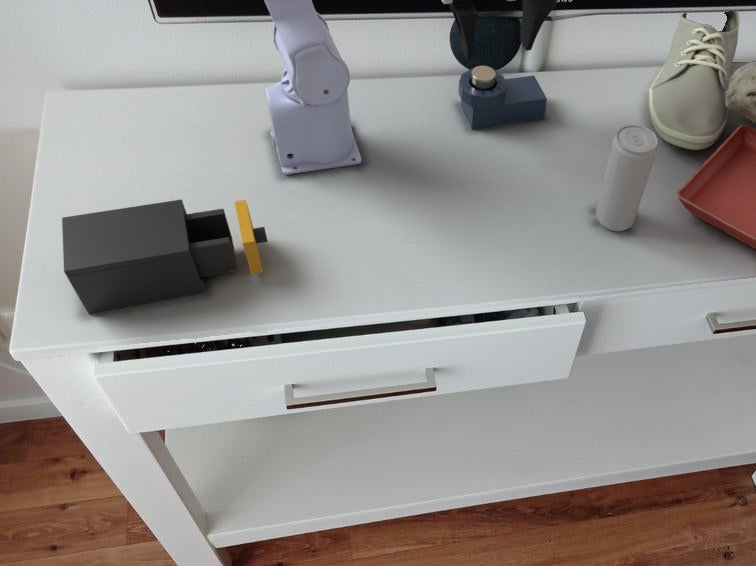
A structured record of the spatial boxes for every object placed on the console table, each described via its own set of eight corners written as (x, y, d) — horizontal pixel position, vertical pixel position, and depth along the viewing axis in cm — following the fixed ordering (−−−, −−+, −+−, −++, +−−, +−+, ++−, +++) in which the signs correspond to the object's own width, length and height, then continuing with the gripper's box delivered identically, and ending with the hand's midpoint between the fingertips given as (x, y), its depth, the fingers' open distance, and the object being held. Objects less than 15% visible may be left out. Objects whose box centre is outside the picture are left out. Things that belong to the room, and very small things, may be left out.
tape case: (197, 242, 85) (181, 199, 80) (205, 292, 82) (189, 250, 76) (85, 261, 82) (61, 217, 77) (88, 314, 79) (63, 271, 73)
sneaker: (631, 149, 101) (648, 94, 94) (667, 27, 117) (684, -27, 110) (713, 172, 100) (736, 119, 93) (738, 47, 116) (759, -7, 109)
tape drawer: (265, 229, 86) (257, 197, 82) (274, 270, 83) (266, 239, 79) (154, 247, 83) (141, 215, 79) (160, 290, 80) (146, 259, 76)
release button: (475, 93, 97) (475, 81, 95) (468, 79, 98) (468, 66, 97) (497, 90, 98) (498, 78, 96) (490, 76, 99) (491, 64, 98)
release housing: (465, 132, 100) (467, 99, 95) (452, 104, 103) (454, 70, 98) (545, 121, 102) (550, 88, 98) (530, 93, 105) (534, 60, 101)
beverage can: (627, 203, 95) (651, 122, 85) (639, 232, 92) (664, 151, 82) (590, 206, 94) (609, 124, 84) (600, 235, 92) (621, 154, 82)
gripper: (454, -39, 79) (451, 78, 90) (582, -54, 83) (564, 60, 94) (432, -74, 82) (431, 43, 94) (556, -87, 86) (541, 27, 98)
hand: (496, 50), depth 94 cm, fingers open, 7 cm apart
